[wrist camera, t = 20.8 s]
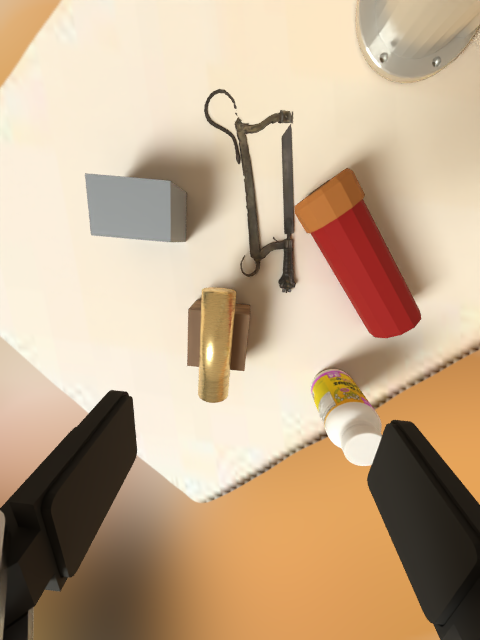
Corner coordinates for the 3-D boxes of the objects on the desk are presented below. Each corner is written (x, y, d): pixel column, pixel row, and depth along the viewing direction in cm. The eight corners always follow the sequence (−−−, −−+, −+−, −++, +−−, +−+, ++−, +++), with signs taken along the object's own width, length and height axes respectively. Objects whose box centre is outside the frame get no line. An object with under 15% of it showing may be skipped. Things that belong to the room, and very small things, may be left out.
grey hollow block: (118, 186, 32) (85, 173, 25) (186, 192, 32) (170, 180, 25) (121, 235, 34) (91, 235, 27) (185, 241, 34) (170, 242, 27)
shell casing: (336, 174, 31) (359, 156, 24) (404, 303, 35) (440, 318, 29) (288, 209, 32) (297, 202, 26) (360, 329, 37) (384, 348, 30)
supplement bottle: (360, 377, 39) (410, 440, 27) (337, 409, 41) (374, 481, 29) (323, 360, 38) (358, 416, 26) (301, 392, 40) (324, 459, 28)
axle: (206, 286, 31) (198, 292, 27) (237, 289, 31) (234, 296, 27) (201, 383, 35) (194, 400, 32) (229, 386, 35) (226, 404, 31)
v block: (249, 304, 36) (249, 315, 31) (245, 354, 38) (244, 370, 34) (196, 300, 36) (188, 309, 31) (195, 350, 39) (187, 365, 34)
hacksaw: (294, 291, 36) (296, 293, 34) (223, 296, 36) (222, 298, 35) (292, 82, 28) (294, 73, 27) (202, 93, 29) (200, 85, 27)
